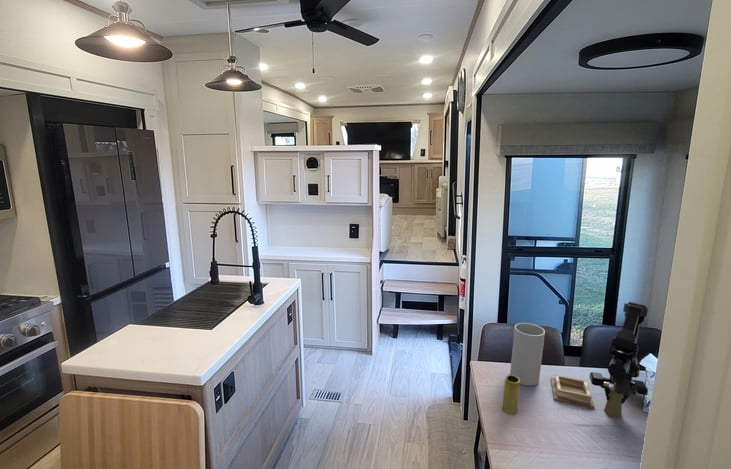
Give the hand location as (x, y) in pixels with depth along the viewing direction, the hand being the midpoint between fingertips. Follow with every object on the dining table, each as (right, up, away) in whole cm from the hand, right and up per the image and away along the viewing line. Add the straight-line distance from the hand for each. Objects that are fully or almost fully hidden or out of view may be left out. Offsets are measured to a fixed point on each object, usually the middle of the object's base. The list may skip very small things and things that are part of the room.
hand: (614, 401), depth 151 cm
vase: (-41, -5, +2) cm, 42 cm away
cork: (0, -5, +1) cm, 5 cm away
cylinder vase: (-26, 0, +24) cm, 35 cm away
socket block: (-10, -2, +13) cm, 17 cm away
